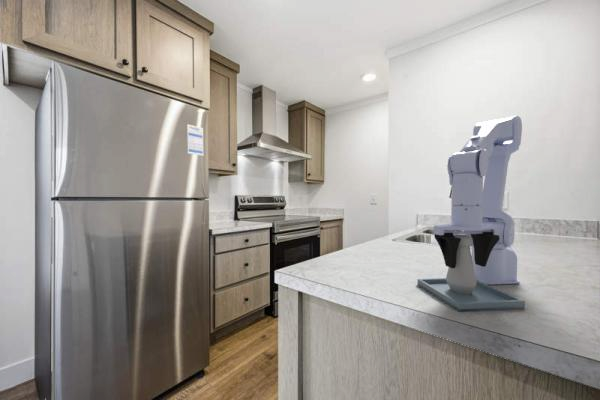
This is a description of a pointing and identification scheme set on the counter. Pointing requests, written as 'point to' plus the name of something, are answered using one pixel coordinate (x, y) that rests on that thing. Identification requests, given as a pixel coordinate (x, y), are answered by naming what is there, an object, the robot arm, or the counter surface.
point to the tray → (471, 296)
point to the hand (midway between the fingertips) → (465, 266)
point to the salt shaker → (462, 268)
